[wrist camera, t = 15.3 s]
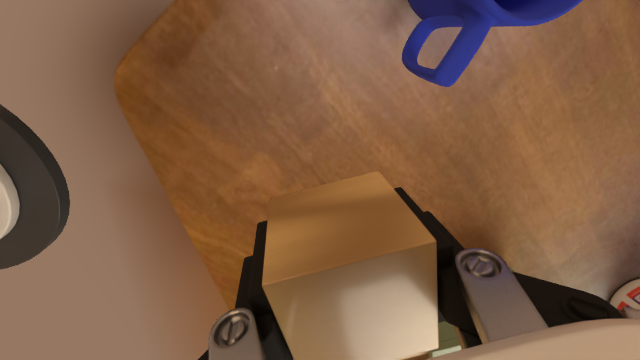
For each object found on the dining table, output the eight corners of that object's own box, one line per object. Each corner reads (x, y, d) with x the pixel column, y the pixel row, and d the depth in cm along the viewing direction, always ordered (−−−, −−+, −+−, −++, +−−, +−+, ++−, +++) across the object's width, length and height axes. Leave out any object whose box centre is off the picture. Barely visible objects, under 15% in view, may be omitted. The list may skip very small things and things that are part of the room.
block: (297, 278, 13) (304, 385, 9) (269, 197, 11) (260, 285, 7) (389, 255, 13) (439, 348, 9) (378, 170, 11) (437, 240, 7)
